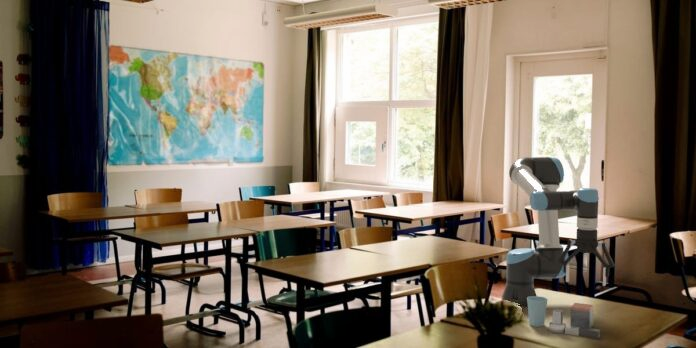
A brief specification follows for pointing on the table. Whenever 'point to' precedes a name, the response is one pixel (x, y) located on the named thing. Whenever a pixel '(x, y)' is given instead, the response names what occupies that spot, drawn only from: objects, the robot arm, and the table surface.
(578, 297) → the table surface
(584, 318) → the red-topped grey block
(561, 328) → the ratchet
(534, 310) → the cup
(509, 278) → the robot arm
